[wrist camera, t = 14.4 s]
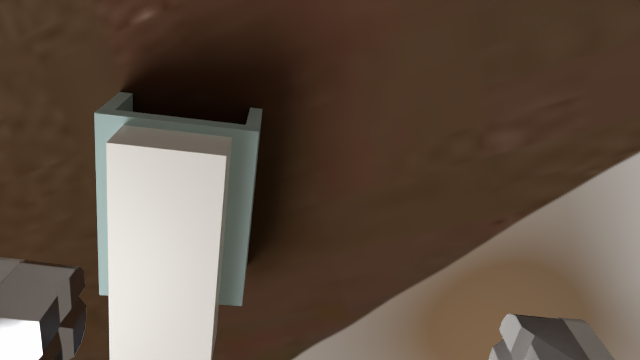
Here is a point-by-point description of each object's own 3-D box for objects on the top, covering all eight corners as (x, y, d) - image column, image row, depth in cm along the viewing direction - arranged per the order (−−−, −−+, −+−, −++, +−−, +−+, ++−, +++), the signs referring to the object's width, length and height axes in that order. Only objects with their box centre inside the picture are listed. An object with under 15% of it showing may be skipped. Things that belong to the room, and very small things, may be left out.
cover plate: (232, 137, 30) (226, 155, 27) (216, 335, 35) (210, 367, 32) (123, 124, 29) (106, 142, 26) (123, 328, 35) (109, 360, 32)
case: (262, 108, 34) (258, 131, 30) (246, 266, 39) (241, 306, 34) (119, 91, 33) (94, 113, 29) (121, 255, 38) (99, 294, 34)
